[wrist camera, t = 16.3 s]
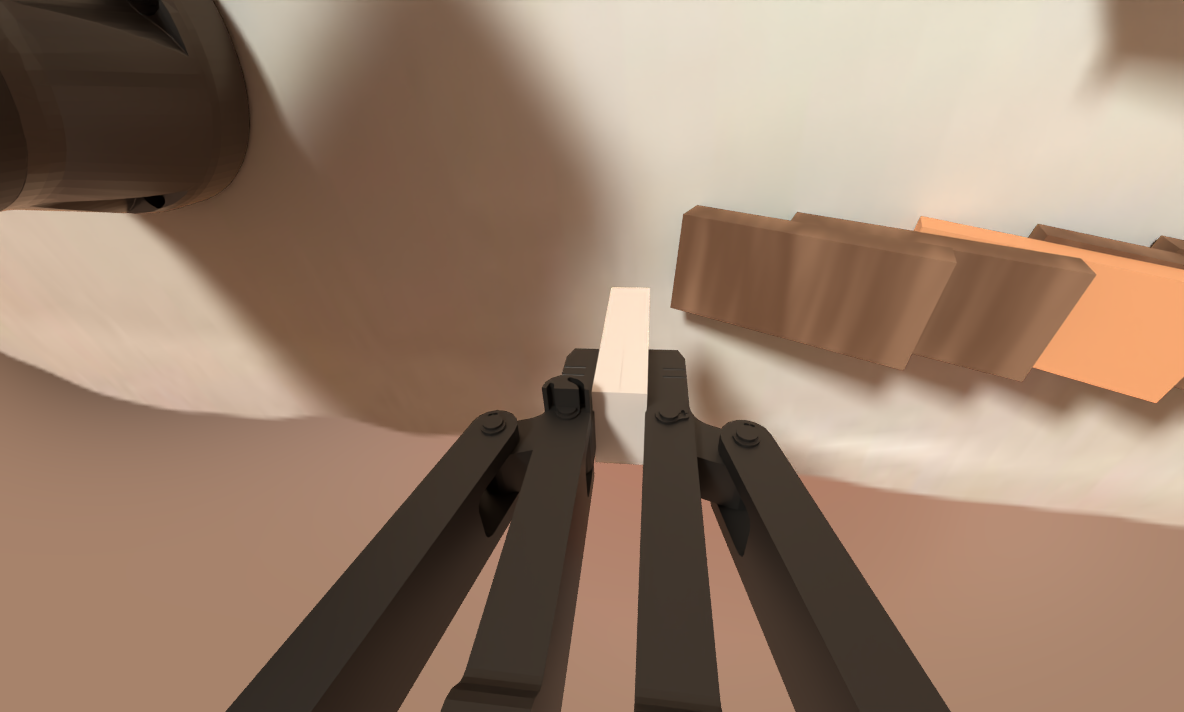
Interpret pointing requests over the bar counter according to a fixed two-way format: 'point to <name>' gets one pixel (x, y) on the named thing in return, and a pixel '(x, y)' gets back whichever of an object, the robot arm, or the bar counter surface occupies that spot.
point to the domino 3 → (1107, 318)
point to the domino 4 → (1109, 250)
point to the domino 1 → (810, 282)
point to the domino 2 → (990, 300)
